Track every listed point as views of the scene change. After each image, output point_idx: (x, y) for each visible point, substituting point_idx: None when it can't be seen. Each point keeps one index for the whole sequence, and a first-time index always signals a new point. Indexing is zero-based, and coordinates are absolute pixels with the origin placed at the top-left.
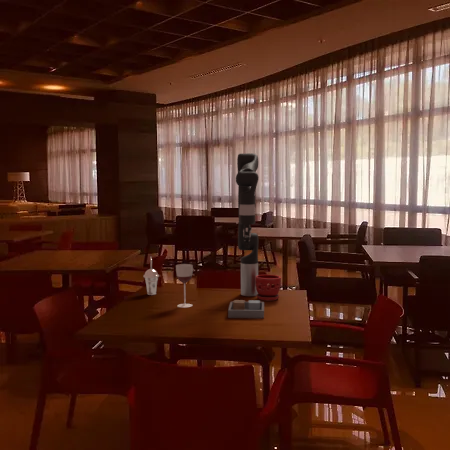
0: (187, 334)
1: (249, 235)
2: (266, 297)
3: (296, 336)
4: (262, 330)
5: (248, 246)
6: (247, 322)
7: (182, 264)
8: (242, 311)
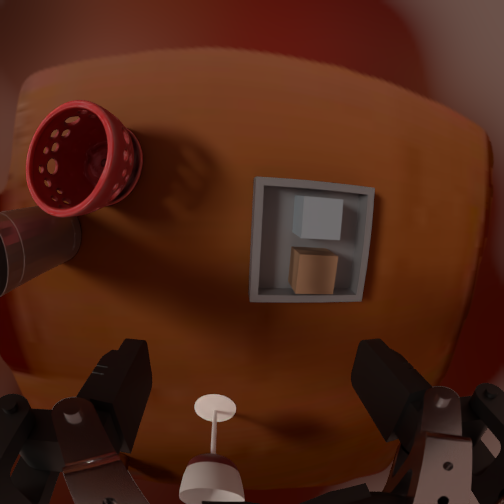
0: (439, 353)
1: (459, 453)
2: (139, 167)
3: (472, 140)
4: (447, 204)
5: (399, 358)
6: (395, 238)
7: (184, 501)
8: (366, 256)
